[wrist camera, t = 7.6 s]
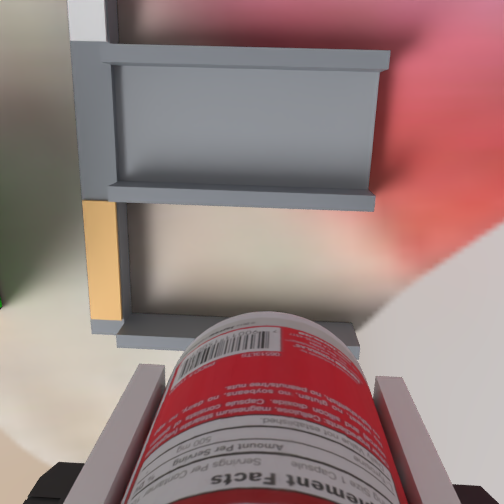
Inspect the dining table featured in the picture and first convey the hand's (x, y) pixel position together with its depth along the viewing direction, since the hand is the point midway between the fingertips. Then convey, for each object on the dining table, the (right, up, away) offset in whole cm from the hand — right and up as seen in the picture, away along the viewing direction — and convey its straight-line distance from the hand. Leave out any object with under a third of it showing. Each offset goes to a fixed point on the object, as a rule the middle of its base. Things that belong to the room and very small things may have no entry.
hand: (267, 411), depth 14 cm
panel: (-2, +11, +12) cm, 17 cm away
